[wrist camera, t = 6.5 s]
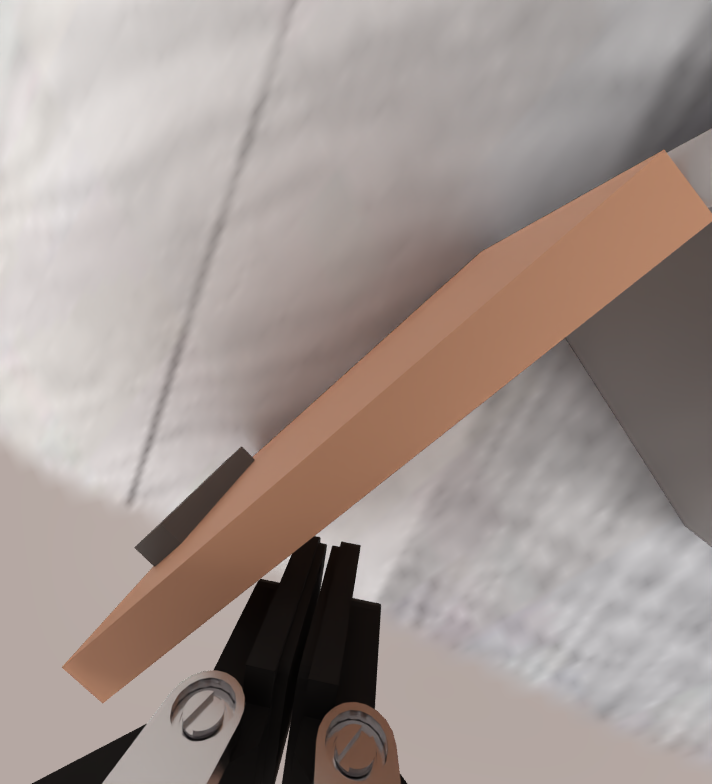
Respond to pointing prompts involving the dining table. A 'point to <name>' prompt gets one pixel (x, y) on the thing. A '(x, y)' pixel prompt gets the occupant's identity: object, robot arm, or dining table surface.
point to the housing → (662, 373)
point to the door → (398, 403)
